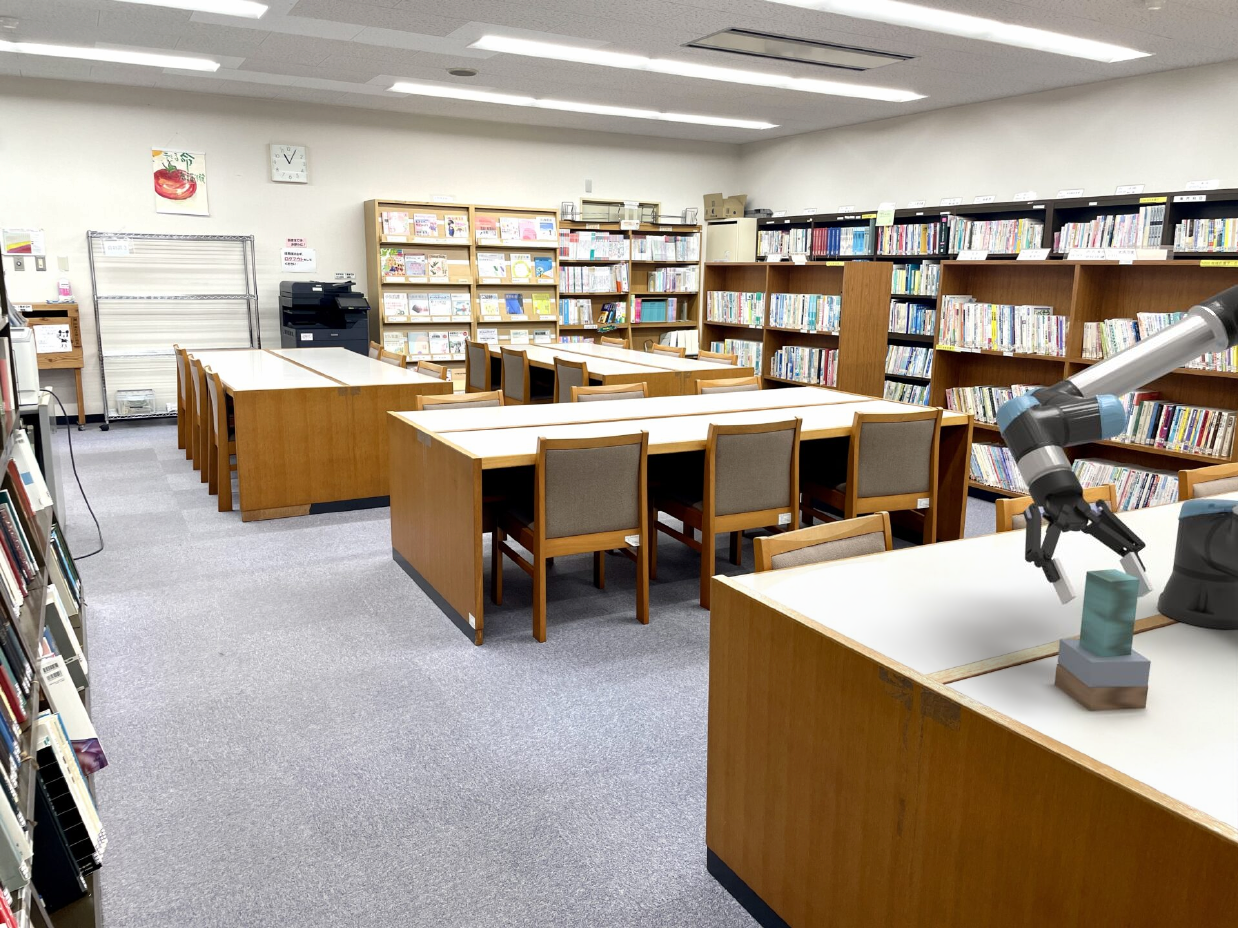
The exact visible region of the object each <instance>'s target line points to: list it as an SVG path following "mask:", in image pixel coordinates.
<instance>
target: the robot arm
mask: <svg viewBox="0 0 1238 928" xmlns="http://www.w3.org/2000/svg"><path fill="white" fill-rule="evenodd" d="M1236 346H1238V284H1236V285H1234V286H1232V287H1229V288H1227V289H1225V290H1223V291H1221V292H1219V293H1217V294H1215V295H1214V296H1211V297H1210V298H1207V299H1205V300H1204V301H1202V302H1200V303H1198V304H1196V305H1193V306H1192V307H1191V308H1189V310H1188V311H1187V313H1186V316H1184V317H1183V318H1181V319H1179V320H1177V321H1175V322H1174V323H1171V324H1170V325H1167V326H1166V327H1164V328H1162V329H1160V330H1158V331H1156V332H1155V333H1154V332H1153V334H1149V336H1146V337H1145V338H1142V339H1140V340H1138V341H1137V342H1135V343H1133V344H1131V345H1129V346H1127V347H1125V348H1124V349H1121V350H1119V351H1118V352H1116V353H1113V354H1112V355H1110V356H1108V357H1106V358H1103V359H1102V360H1101V361H1099V362H1097V363H1095V364H1092V365H1090V366H1089V367H1087V368H1085V369H1082V370H1081V371H1079V372H1077V373H1075V374H1073V375H1072V376H1070V377H1067V378H1066V379H1063V380H1061V381H1060V382H1057V383H1055V384H1053V385H1051V386H1049V387H1048V388H1046V387H1037V388H1031V389H1029V390H1027V391H1026V392H1025V393H1024V394H1023V395H1020V396H1016V397H1013V398H1010V399H1009V400H1007V401H1005V402H1004V403H1003V404H1001V405H1000V406H999V408H998V409H997V411H996V412H995V421H996V424H997V427H998V429H999V432H1000V435H1001V438H1002V439H1003V440H1004V442H1005V445H1006V446H1007V449H1008V451H1009V452H1010V454H1011V456H1012V459H1013V460H1014V462H1015V465H1016V467H1017V469H1018V472H1019V473H1020V476H1021V477H1022V480H1023V482H1024V484H1025V486H1026V487H1027V488H1028V493H1029V495H1030V497H1031V499H1032V503H1031V504H1029V506H1028V507H1026V509H1025V510H1023V512H1022V514H1023V517H1024V521H1025V523H1026V524H1025V525H1026V526H1025V546H1024V560H1025V562H1027V563H1032V562H1033V564H1034V566H1035V567H1036V568H1039V569H1040V568H1041V569H1042V571H1043V573H1044V576H1045V579H1046V580H1047V581H1048V582H1049V583H1050V584H1051V583H1052V585H1053V588H1054V590H1055V592H1056V594H1057V596H1058V599H1059V600H1060V602H1061V605H1067V604H1069V603H1070V602H1071V601H1072V600H1074V599H1075V598H1077V594H1076V592H1075V589H1074V588H1073V586H1072V584H1071V581H1070V580H1069V577H1068V575H1067V573H1066V570H1065V569H1064V567H1063V565H1062V562H1061V560H1060V557H1054V558H1053V556H1054V553H1055V550H1056V547H1057V545H1058V542H1059V538H1060V536H1061V533H1068V532H1082V533H1083V534H1085V535H1090V536H1091V537H1093V538H1094V539H1096V540H1097V541H1099V542H1100V543H1102V544H1103V545H1104V546H1106V547H1108V548H1109V549H1110V550H1112V551H1113V552H1115V553H1116V554H1117V555H1119V556H1120V557H1121V558H1120V559H1119V563H1120V564H1121V566H1122V569H1123V570H1124V573H1125V574H1128V575H1130V576H1133V577H1135V578H1138V579H1140V581H1139V589H1138V598H1139V599H1140V598H1143V597H1145V596H1147V595H1149V593H1151V592H1152V591H1154V588H1153V586H1152V584H1151V581H1150V579H1149V578H1148V576H1147V574H1146V570H1147V569H1146V567H1145V565H1144V564H1143V561H1142V559H1141V557H1140V556H1139V552H1140V551H1142V550H1143V549H1145V548H1146V543H1145V542H1144V541H1143V540H1142V539H1141V538H1140V537H1139V536H1138V535H1137V534H1136V533H1135V532H1134V531H1133V530H1132V529H1131V528H1129V526H1127V525H1126V524H1125V523H1124V521H1122V519H1120V518H1119V517H1118V516H1117V515H1116V514H1115V513H1114V512H1113V511H1111V509H1110V507H1109V506H1108V505H1107V503H1106V502H1105V500H1104V499H1102V498H1098V499H1097V500H1096V502H1092V503H1089V502H1088V501H1086V500H1085V497H1084V488H1083V486H1082V484H1081V482H1080V480H1079V478H1078V476H1077V474H1076V473H1075V471H1073V466H1072V465H1071V463H1070V460H1069V459H1068V457H1067V455H1066V454H1065V452H1064V449H1063V448H1066V447H1074V446H1077V445H1083V444H1088V443H1093V442H1095V443H1096V442H1099V441H1100V442H1103V441H1105V440H1108V439H1111V438H1115V437H1118V436H1120V435H1121V434H1123V432H1124V430H1125V429H1126V426H1127V416H1126V410H1125V407H1124V405H1123V403H1122V401H1121V400H1120V398H1121V397H1123V396H1125V395H1127V394H1130V393H1131V392H1133V391H1135V390H1138V389H1139V388H1140V387H1143V386H1145V385H1146V384H1149V383H1151V382H1153V381H1155V380H1157V379H1158V378H1160V377H1163V376H1165V375H1167V374H1169V373H1171V372H1173V371H1175V370H1176V369H1178V368H1180V367H1183V366H1184V365H1186V364H1188V363H1190V362H1193V361H1195V360H1196V359H1199V358H1200V357H1203V356H1204V355H1206V354H1208V353H1213V354H1220V353H1223V352H1225V351H1227V350H1228V349H1232V348H1233V347H1236ZM1042 519H1044V520H1045V521H1047V522H1048V524H1047V526H1046V529H1045V535H1044V538H1043V541H1042V524H1043V523H1042ZM1177 520H1178V526H1177V533H1176V542H1175V548H1174V549H1175V550H1174V557H1173V564H1172V565H1173V566H1172V571H1171V574H1170V576H1169V578H1168V580H1167V581H1166V584H1165V586H1164V588H1163V591H1162V592H1161V593H1160V594H1159V595H1158V600H1157V607H1156V608H1157V610H1158V611H1159V612H1160V613H1161V614H1162V615H1164V616H1166V617H1168V618H1171V619H1173V620H1175V621H1178V622H1182V623H1185V624H1189V625H1194V626H1198V627H1204V628H1209V629H1221V630H1237V629H1238V500H1236V499H1235V500H1233V499H1222V498H1221V499H1218V498H1217V499H1216V498H1193V499H1188V500H1185V501H1184V502H1183V503H1182V504H1181V508H1180V512H1179V515H1178V518H1177ZM1089 522H1090V523H1089ZM1138 598H1137V599H1138Z"/></svg>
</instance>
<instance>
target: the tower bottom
mask: <svg viewBox="0 0 1238 928" xmlns="http://www.w3.org/2000/svg"><path fill="white" fill-rule="evenodd" d="M1054 686H1055V687H1056V688H1058V689H1060V691H1062V692H1063V693H1065V694H1066V695H1068V696H1069V697H1071V698H1072V699H1073V700H1074V701H1076V702H1077V703H1079V704H1080V705H1081V706H1082V707H1084V708H1086V709H1087V710H1088V711H1089V712H1099V711H1115V710H1116V711H1117V710H1134V709H1146V707H1147V701H1148V692H1149V685H1148V686H1129V687H1088V686H1087V685H1086V684H1084V683H1083V682H1082V681H1081V680H1079V679H1078V678H1077V677H1075V676H1074V675H1073V674H1072V673H1070V672H1069V671H1068V670H1067V669H1065V668H1064V667H1063V666H1061V665H1060V664H1059V663H1056V669H1055V676H1054Z"/></svg>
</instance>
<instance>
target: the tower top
mask: <svg viewBox="0 0 1238 928" xmlns="http://www.w3.org/2000/svg"><path fill="white" fill-rule="evenodd" d="M1079 641H1080V638H1059V646H1058V653H1057V664H1060V665H1061V666H1063V667H1064V668H1065V669H1067V670H1068V671H1069V672H1070V673H1072V674H1073V675H1074V676H1075V677H1077V678H1078V679H1079V680H1081V681H1082V682H1083V683H1084V684H1086V685H1087V686H1088V687H1129V686H1148V687H1149V677H1150V669H1151V660H1150V659H1148V658H1146V657H1145V656H1143V655H1142V654H1140V653H1139V652H1137V651H1136V650H1134V649H1133V648H1132V650H1131V655H1122V656H1112V657H1101V656H1099V655H1097V654H1095V653H1093V652H1092V651H1090V650H1088V649H1086V648H1084V647H1082V646H1080V645H1079Z"/></svg>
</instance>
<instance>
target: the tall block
mask: <svg viewBox="0 0 1238 928" xmlns="http://www.w3.org/2000/svg"><path fill="white" fill-rule="evenodd" d="M1085 573H1086V575H1085V584H1084V585H1085V586H1084V593H1083V605H1082V613H1081V623H1080V633H1079V639H1080V641H1079V645H1080V646H1082V647H1084V648H1086V649H1088V650H1090V651H1092V652H1093V653H1095V654H1097V655H1099V656H1101V657H1112V656H1122V655H1131V650H1132V649H1133V640H1134V630H1135V625H1136V624H1135V623H1136V613H1137V605H1138V589H1139V581H1140V579H1138V578H1135V577H1133V576H1130V575H1128V574H1126V572H1122V571H1120V570H1118V569H1115V568H1113V569H1099V570H1088V571H1087V570H1086V572H1085Z"/></svg>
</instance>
